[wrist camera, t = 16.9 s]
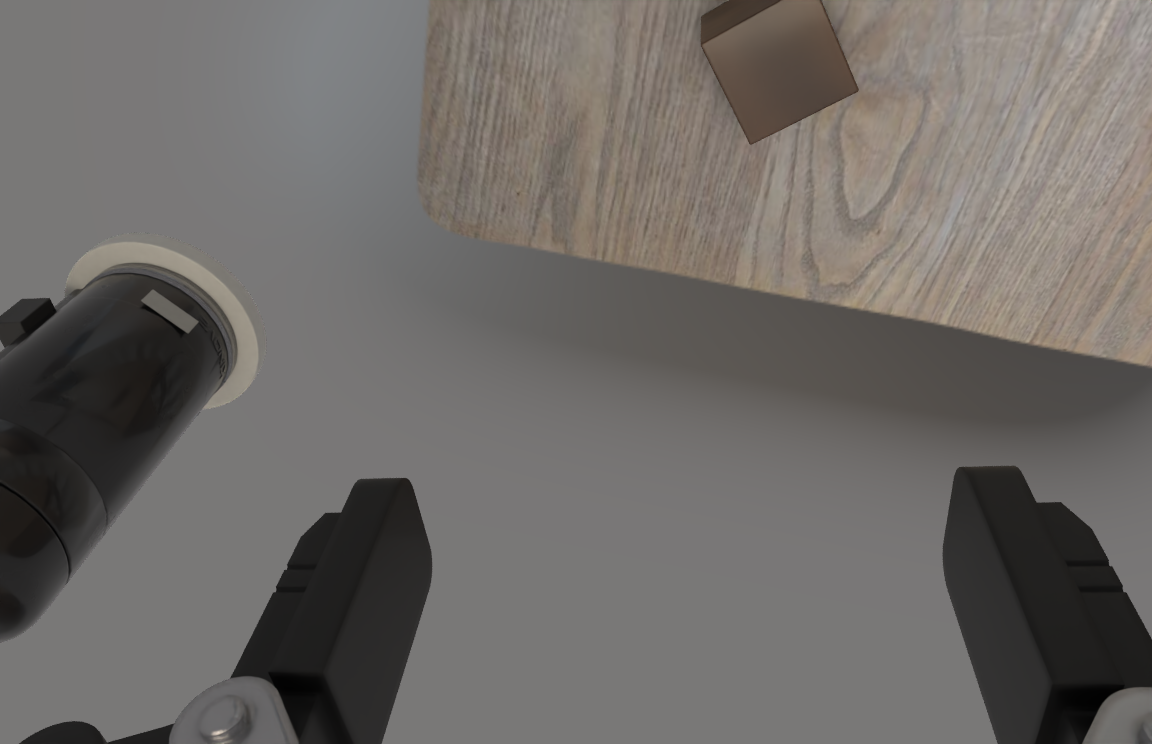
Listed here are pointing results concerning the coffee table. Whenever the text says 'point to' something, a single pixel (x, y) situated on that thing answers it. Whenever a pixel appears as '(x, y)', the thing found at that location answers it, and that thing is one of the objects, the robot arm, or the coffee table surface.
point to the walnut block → (775, 61)
